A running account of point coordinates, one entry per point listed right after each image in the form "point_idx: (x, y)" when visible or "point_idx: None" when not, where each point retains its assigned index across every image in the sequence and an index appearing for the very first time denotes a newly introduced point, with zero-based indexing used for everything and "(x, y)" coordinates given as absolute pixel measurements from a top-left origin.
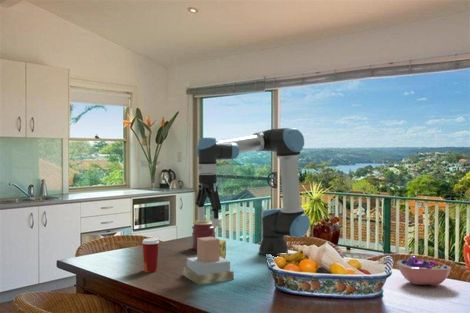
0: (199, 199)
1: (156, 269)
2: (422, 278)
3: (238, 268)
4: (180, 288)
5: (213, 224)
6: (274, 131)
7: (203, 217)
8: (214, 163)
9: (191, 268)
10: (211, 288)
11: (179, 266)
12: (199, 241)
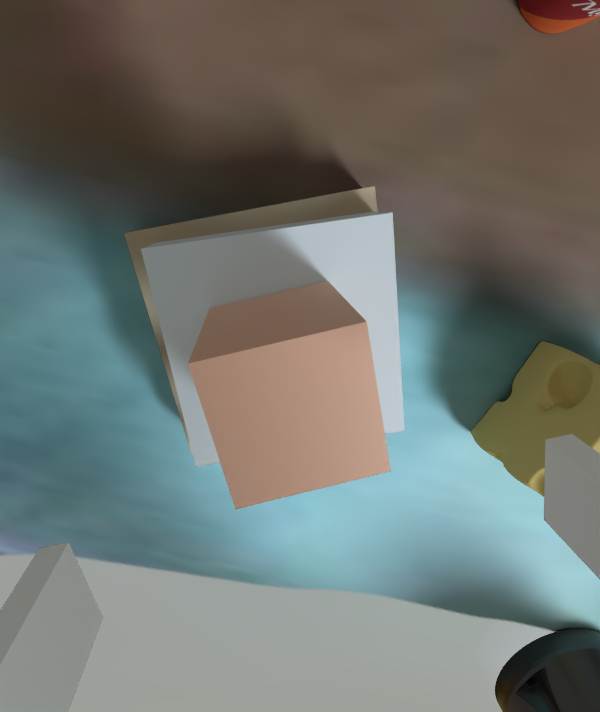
0: None
1: (533, 19)
2: None
3: (377, 493)
4: (81, 99)
5: (24, 588)
6: None
7: (593, 552)
8: None
9: (289, 224)
10: (49, 283)
11: (560, 208)
12: (308, 327)
